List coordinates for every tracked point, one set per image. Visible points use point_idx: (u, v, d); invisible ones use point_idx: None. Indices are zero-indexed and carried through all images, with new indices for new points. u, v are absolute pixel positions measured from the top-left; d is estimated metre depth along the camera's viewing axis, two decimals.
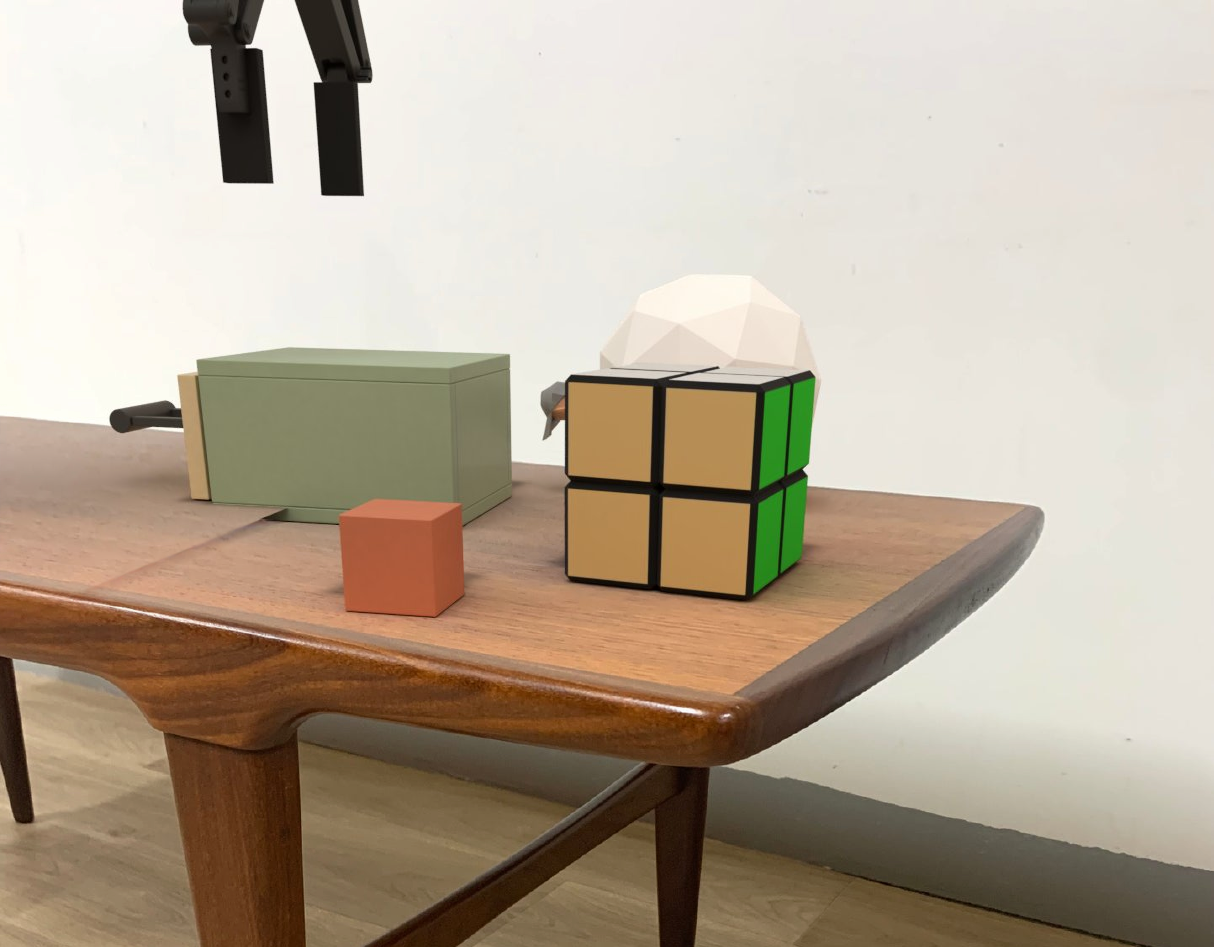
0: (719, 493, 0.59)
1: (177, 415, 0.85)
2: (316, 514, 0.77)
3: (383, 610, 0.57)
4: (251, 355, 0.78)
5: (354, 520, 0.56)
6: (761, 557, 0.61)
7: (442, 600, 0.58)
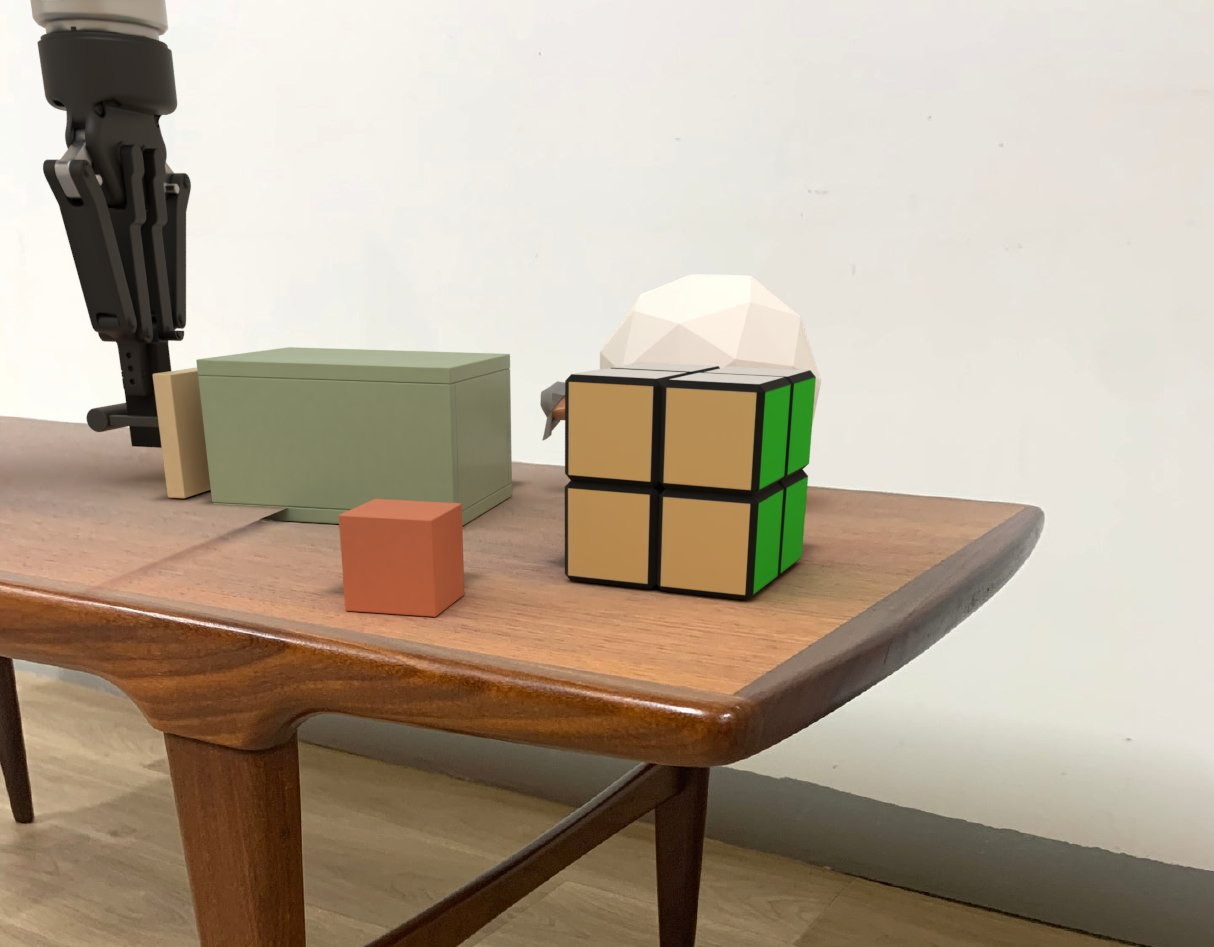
0: (720, 493, 0.59)
1: None
2: (316, 514, 0.77)
3: (383, 610, 0.57)
4: (251, 355, 0.78)
5: (354, 520, 0.56)
6: (761, 557, 0.61)
7: (442, 600, 0.58)
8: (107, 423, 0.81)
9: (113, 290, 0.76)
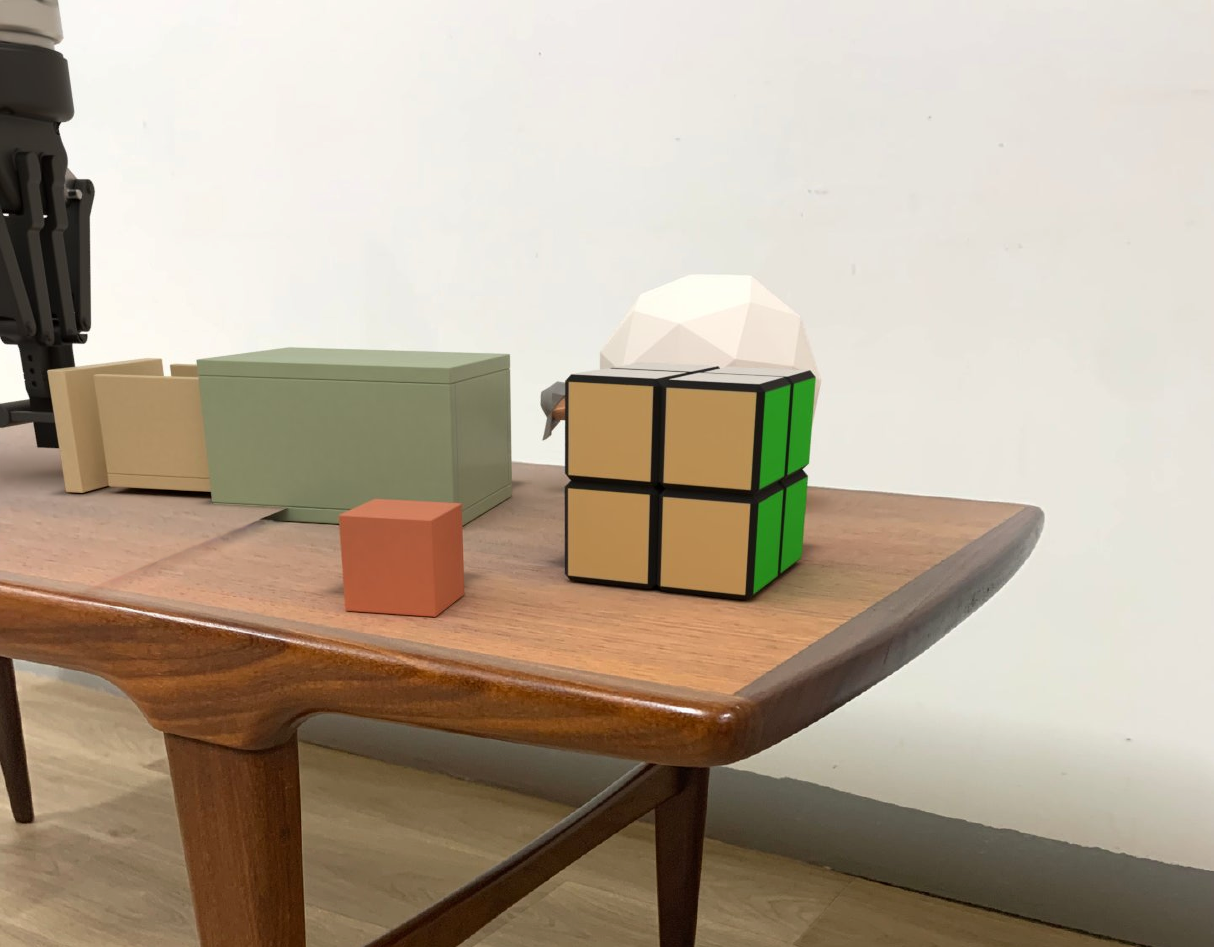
0: (720, 493, 0.59)
1: None
2: (316, 514, 0.77)
3: (383, 610, 0.57)
4: (251, 355, 0.78)
5: (354, 520, 0.56)
6: (761, 557, 0.61)
7: (442, 600, 0.58)
8: (9, 419, 0.82)
9: (10, 294, 0.77)
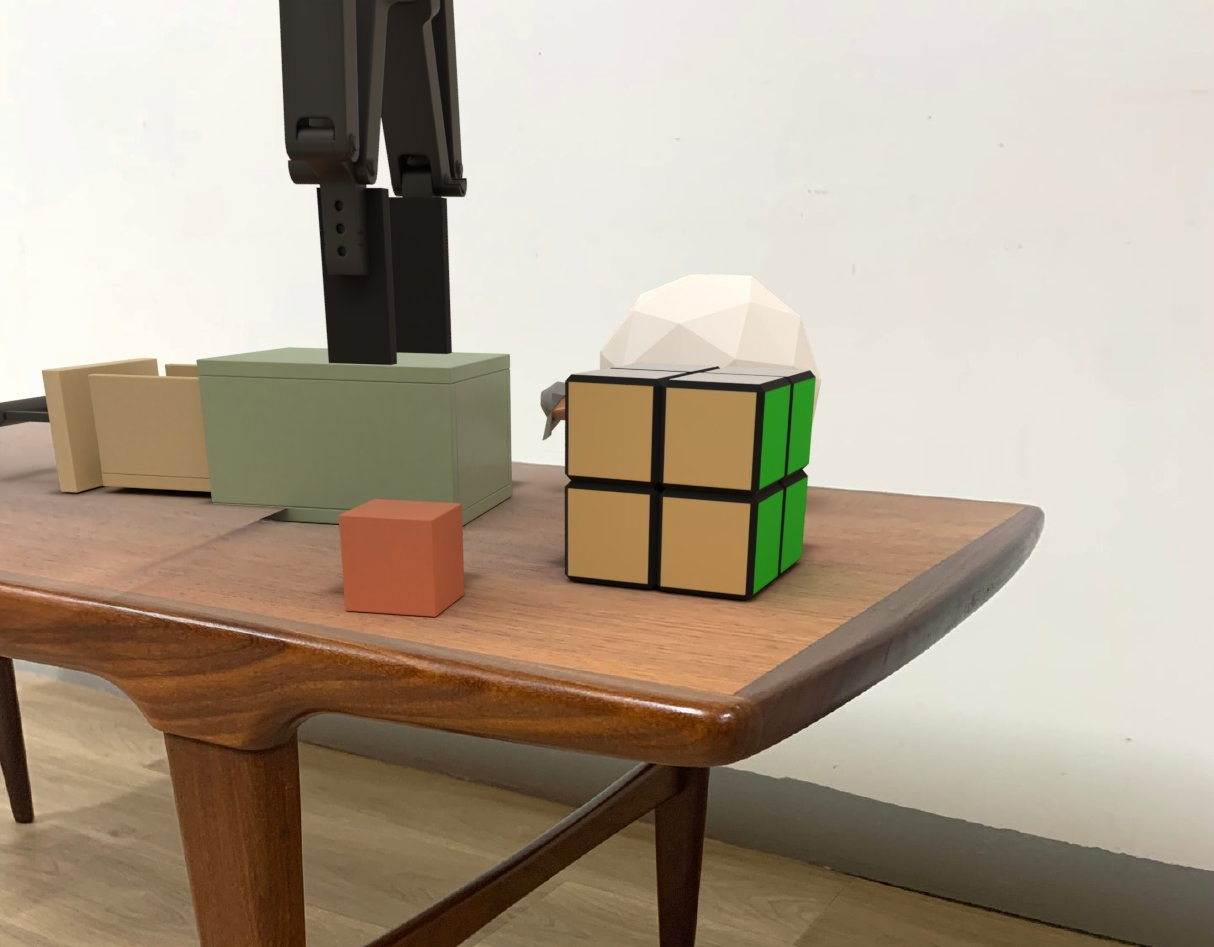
0: (720, 493, 0.59)
1: None
2: (316, 514, 0.77)
3: (383, 610, 0.57)
4: (251, 355, 0.78)
5: (354, 520, 0.56)
6: (761, 557, 0.61)
7: (442, 600, 0.58)
8: (3, 419, 0.82)
9: (337, 75, 0.45)
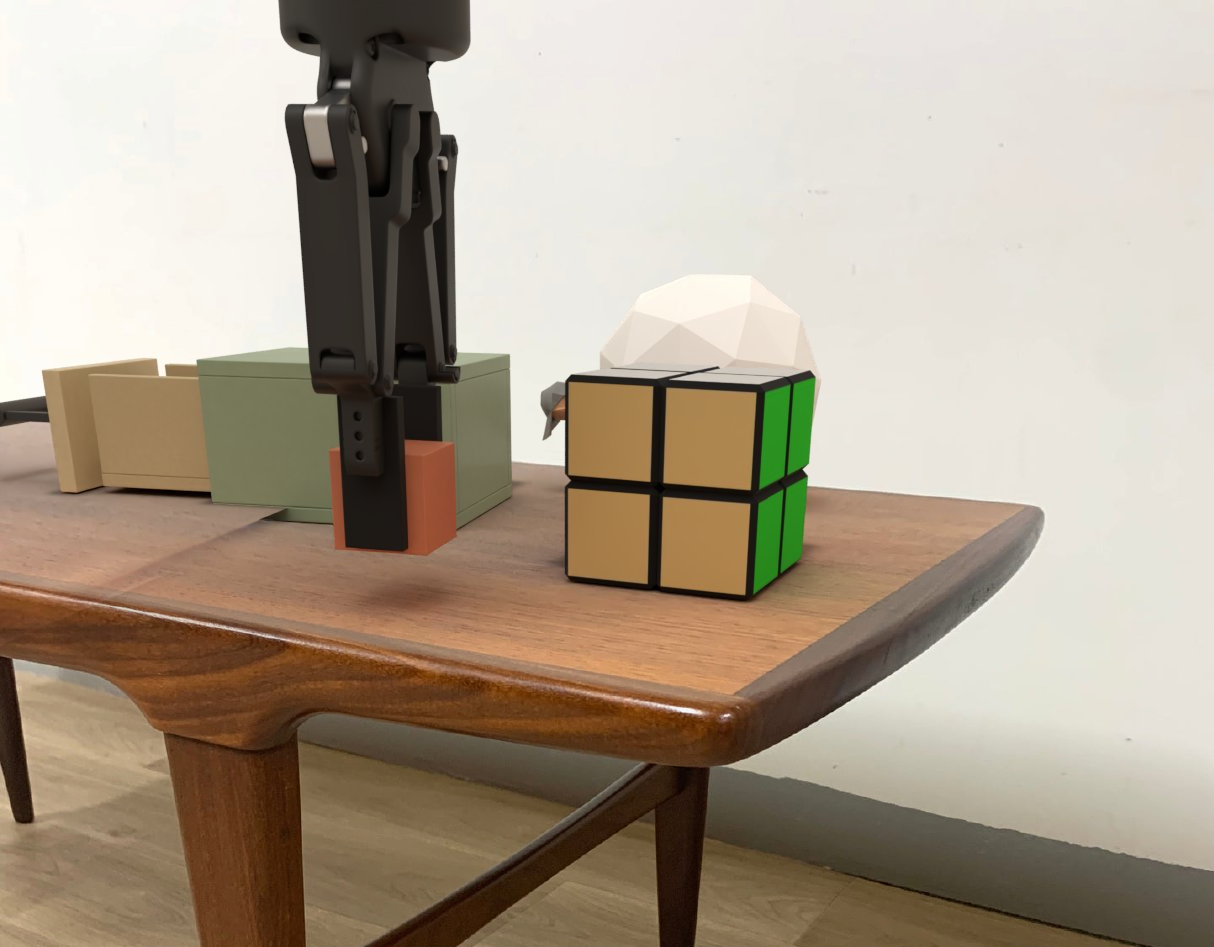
0: (720, 493, 0.59)
1: None
2: (316, 514, 0.77)
3: None
4: (251, 355, 0.78)
5: None
6: (761, 557, 0.61)
7: (433, 539, 0.57)
8: (3, 419, 0.82)
9: (356, 314, 0.49)
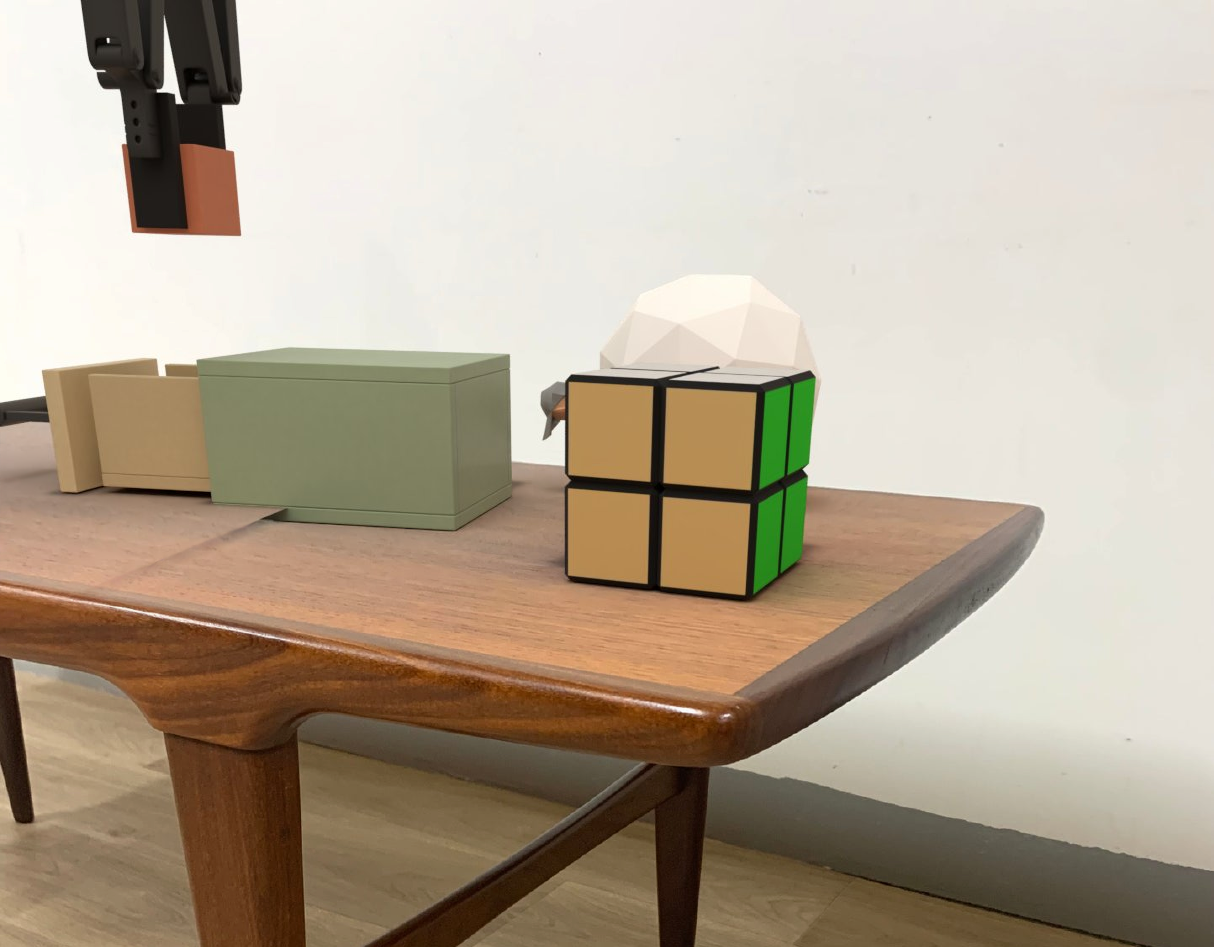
0: (720, 493, 0.59)
1: None
2: (316, 514, 0.77)
3: (161, 230, 0.69)
4: (251, 355, 0.78)
5: None
6: (761, 557, 0.61)
7: (211, 224, 0.70)
8: (3, 419, 0.82)
9: (119, 6, 0.62)
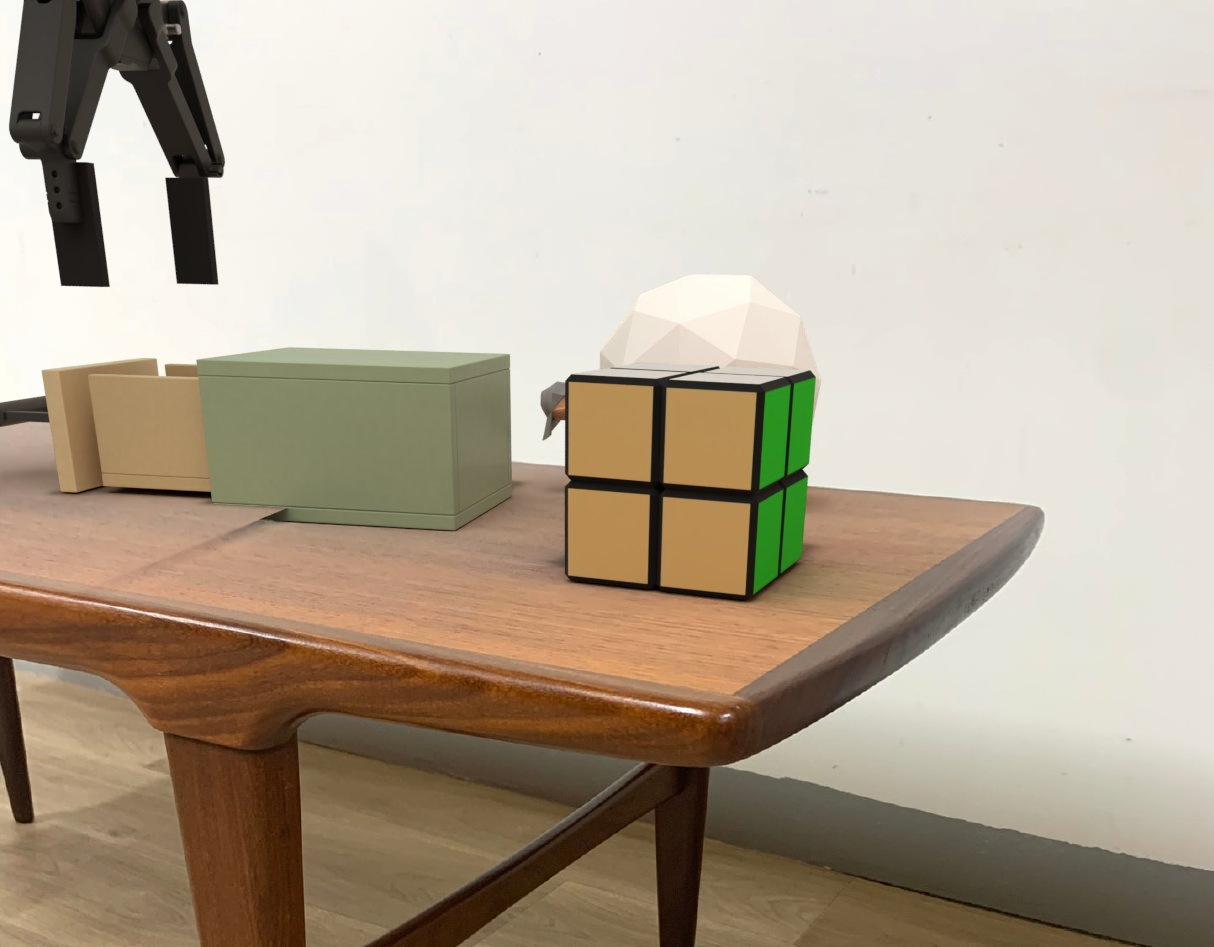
0: (720, 493, 0.59)
1: None
2: (316, 514, 0.77)
3: None
4: (251, 355, 0.78)
5: None
6: (761, 557, 0.61)
7: None
8: (3, 419, 0.82)
9: (48, 87, 0.67)
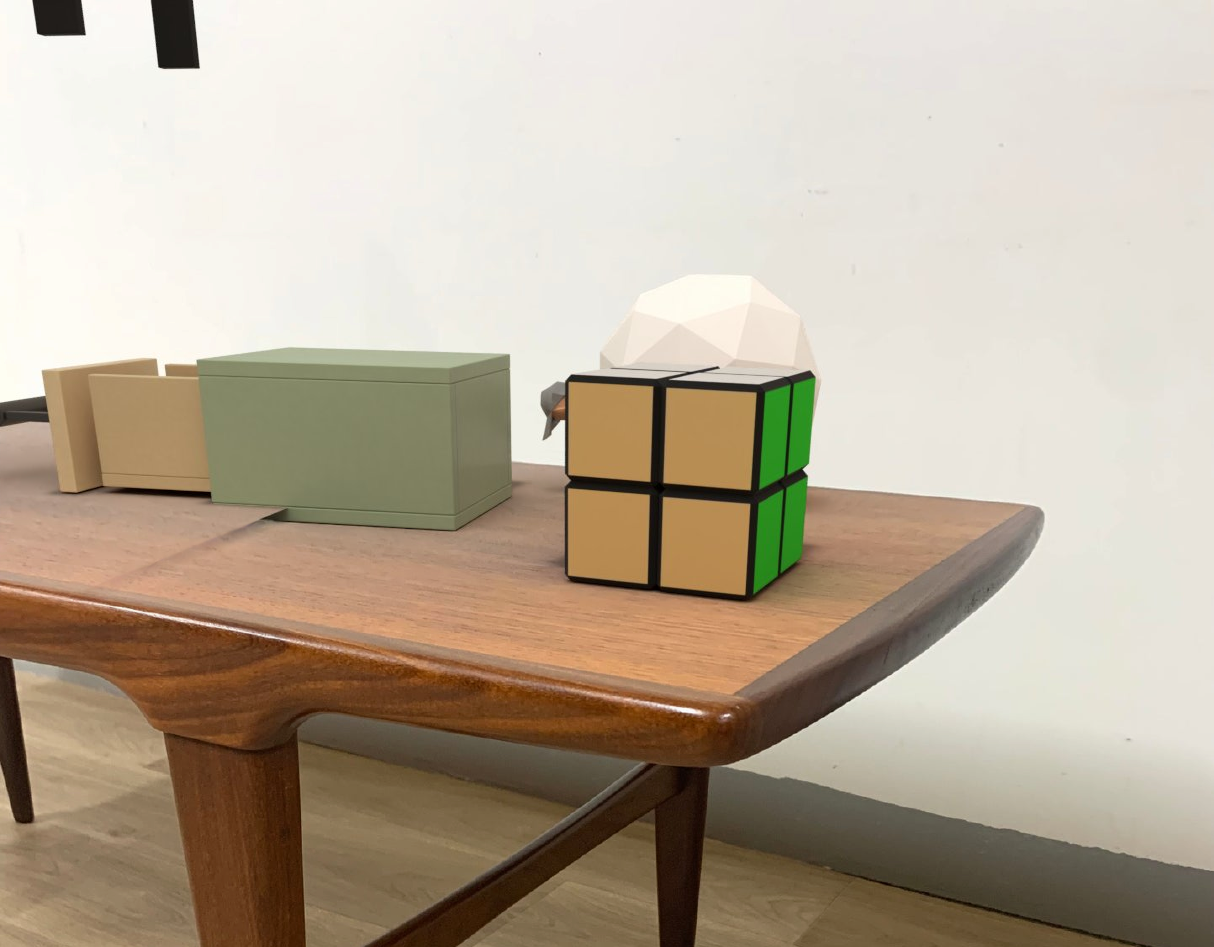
0: (720, 493, 0.59)
1: None
2: (316, 514, 0.77)
3: None
4: (251, 355, 0.78)
5: None
6: (761, 557, 0.61)
7: None
8: (3, 419, 0.82)
9: None
